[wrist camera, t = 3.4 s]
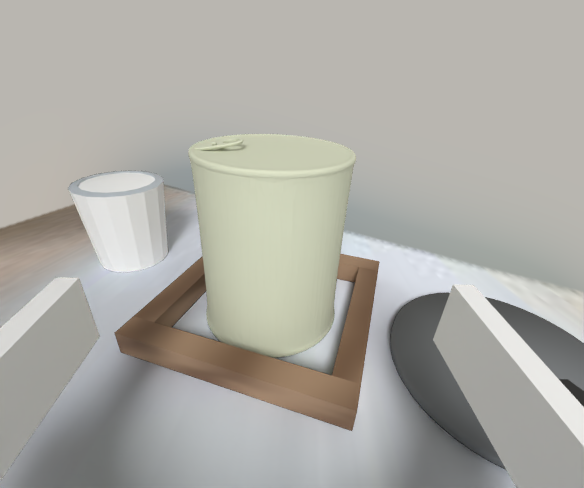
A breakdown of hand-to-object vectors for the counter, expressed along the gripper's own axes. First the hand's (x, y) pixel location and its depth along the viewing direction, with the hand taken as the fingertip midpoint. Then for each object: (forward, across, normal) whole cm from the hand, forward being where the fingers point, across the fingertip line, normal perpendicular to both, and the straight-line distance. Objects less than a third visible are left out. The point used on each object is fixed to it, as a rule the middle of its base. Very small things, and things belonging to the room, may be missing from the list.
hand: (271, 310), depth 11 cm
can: (+9, 0, -8) cm, 12 cm away
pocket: (+9, 0, -8) cm, 12 cm away
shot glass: (+16, -13, -8) cm, 22 cm away
